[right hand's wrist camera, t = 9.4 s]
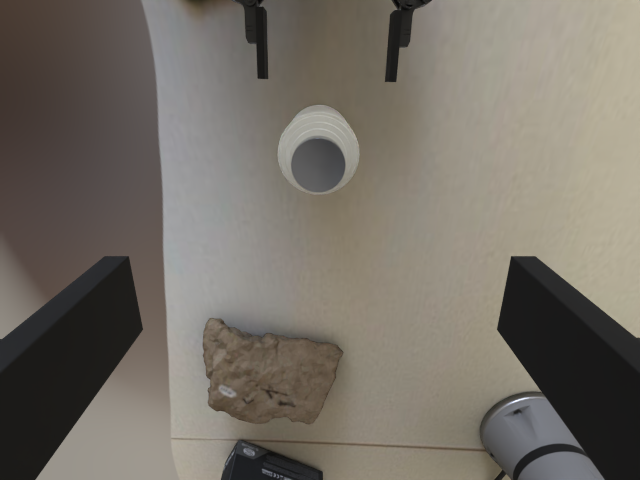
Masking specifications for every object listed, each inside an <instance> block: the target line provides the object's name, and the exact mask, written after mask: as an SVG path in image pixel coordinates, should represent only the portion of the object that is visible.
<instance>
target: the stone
mask: <svg viewBox="0 0 640 480" xmlns="http://www.w3.org/2000/svg"><path fill="white" fill-rule="evenodd" d="M203 349H204V354H203V357H204V362H205V365H206V376H207V378H209V379H210V384H211V387H210V388H208V392H209V400H208V405H209V406H210V407H211V408H212V409H214V410H215V411H225V412H226V413H228V414H230V415H231V417H235V418H237V419H239V420H243V421H246V422H250V423H255V424H261V423H267V422H268V421H269V420H270V419H273V418H281V417H288V418H290V419H291V421H292V422H296V421H300V422H304V423H306V424H312V423H313V422H314V421H315V419H316V418H317V417H318V415H319V413H320V411H321V409H322V407H323V404H324V401H325V399H326V397H327V394H328V391H329V390H330V388H331V386H332V384H333V382H334V380H335V378H336V374H335V372H336V369H337V365H338V361H339V358H340V357H341V356H342V355H343V351H342V350H341V349H340V348H339V347H338V346H337V345H333V344H330V343H315V342H314V341H310V340H309V339H307V338H304V339H303V338H301V339H299V338H295V339H291V338H287V337H284V336H278V335H274V334H271V333H266V334H265V335H264V336H263V337H260V336H252V335H250V334H249V333H247V332H241V331H240V330H239V329H237V328H235V327H234V328H229V327H228V326H227V325H226V324H225V323H224V321H223V320H222V319H214V318H210V319H209V320H208V322H207V323H206V326H205V329H204V334H203Z"/></svg>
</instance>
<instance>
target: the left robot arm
mask: <svg viewBox="0 0 640 480" xmlns="http://www.w3.org/2000/svg"><path fill="white" fill-rule="evenodd" d="M232 1H233V2H237V3H239V4H241V5H243V6H244V9H245V29H246V39H247V41H248V43H250V44H257V72H258V79H268V52H267V11H266V10H265V9H264V7H259V6H260V4H261V3H262V2H263V0H232ZM392 1H393V3H394V5H395V6H396V8H397V9H398V10H394V11H393V12H392V13H391V14H390V24H389V37H388V50H387V63H386V76H385V82H396V79H397V67H398V56H399V48H405V47H408V44H409V42H410V34H411V25H412V15H413V11H414V10H415V9H417V8H420V7H423V6H425V5H426V4H428V3H429V2H430V1H432V0H392Z"/></svg>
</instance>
